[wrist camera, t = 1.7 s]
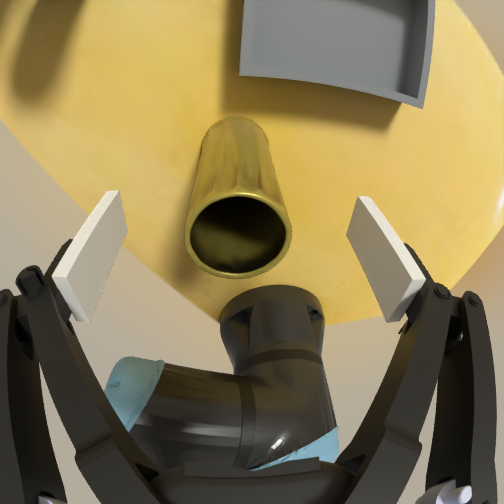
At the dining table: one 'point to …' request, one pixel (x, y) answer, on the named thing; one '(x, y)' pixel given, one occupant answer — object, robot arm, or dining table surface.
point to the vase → (236, 204)
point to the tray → (342, 44)
